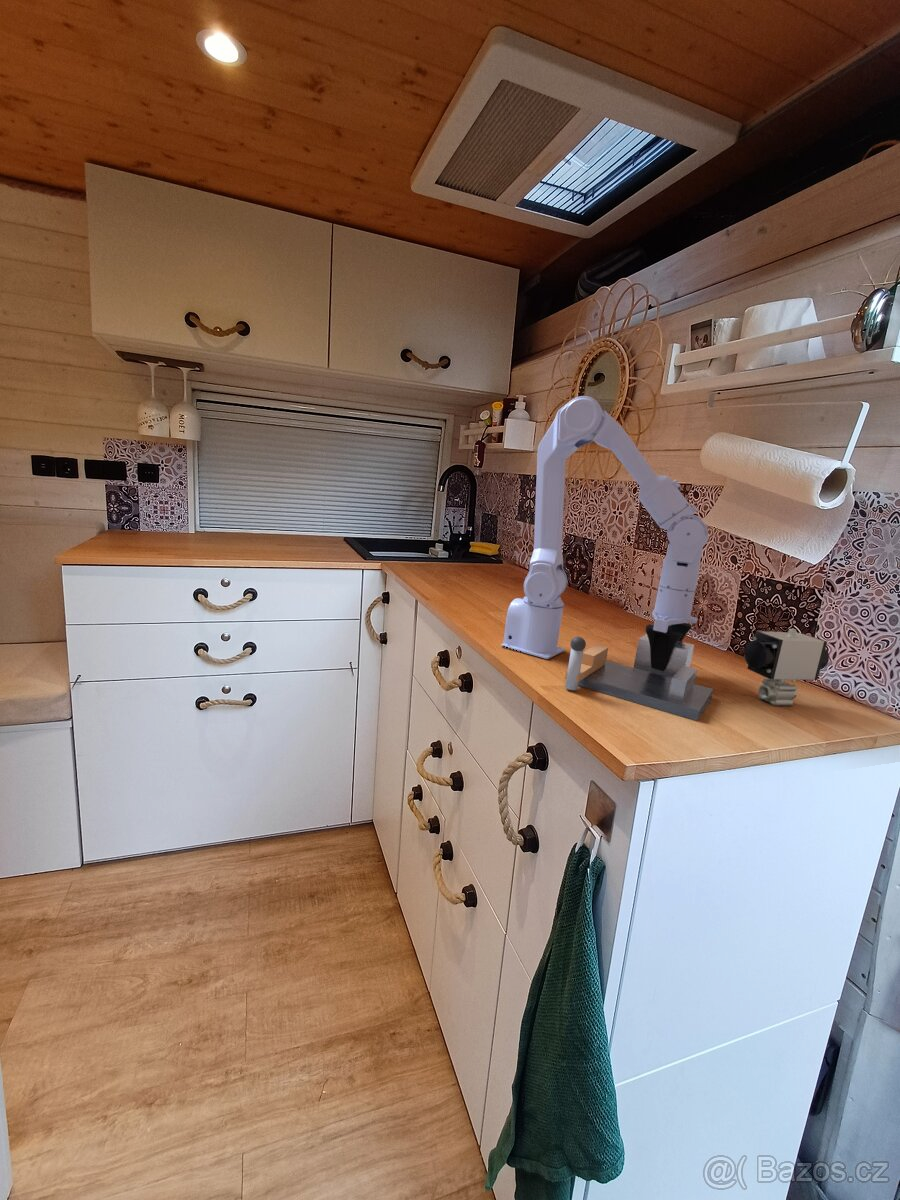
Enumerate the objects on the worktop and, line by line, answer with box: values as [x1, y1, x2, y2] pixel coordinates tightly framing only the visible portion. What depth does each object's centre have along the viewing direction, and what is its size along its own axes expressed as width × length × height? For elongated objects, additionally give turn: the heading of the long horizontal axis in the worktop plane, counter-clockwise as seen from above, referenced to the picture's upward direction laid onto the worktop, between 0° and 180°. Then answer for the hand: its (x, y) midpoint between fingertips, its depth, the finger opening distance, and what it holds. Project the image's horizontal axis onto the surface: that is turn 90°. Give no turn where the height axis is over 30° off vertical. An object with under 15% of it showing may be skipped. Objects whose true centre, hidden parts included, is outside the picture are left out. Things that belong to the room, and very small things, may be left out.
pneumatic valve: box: [744, 628, 830, 707], centre depth 87 cm, size 6×12×12 cm, turn 104°
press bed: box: [578, 660, 714, 722], centre depth 86 cm, size 19×12×4 cm, turn 56°
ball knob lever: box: [564, 636, 609, 691], centre depth 87 cm, size 2×13×8 cm, turn 146°
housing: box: [633, 633, 695, 678], centre depth 95 cm, size 8×5×6 cm, turn 56°
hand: (661, 665), depth 95 cm, fingers closed on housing, 5 cm apart
